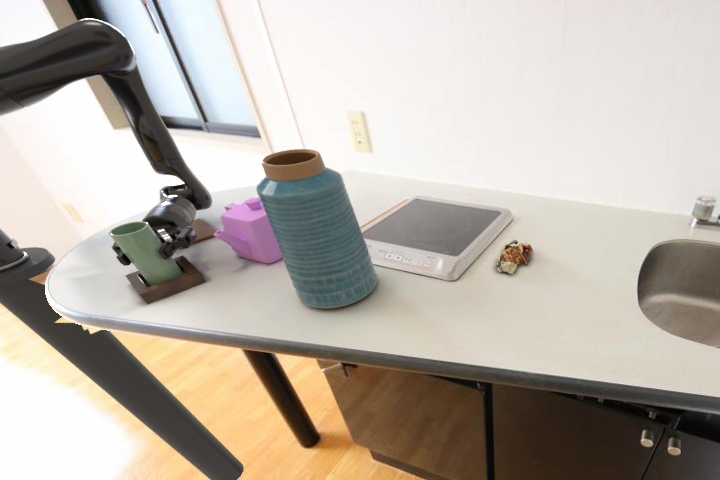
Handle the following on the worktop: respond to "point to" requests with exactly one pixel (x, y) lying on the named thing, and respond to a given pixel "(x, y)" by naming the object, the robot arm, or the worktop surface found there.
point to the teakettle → (249, 232)
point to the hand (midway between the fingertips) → (143, 258)
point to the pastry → (513, 256)
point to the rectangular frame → (167, 282)
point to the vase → (316, 229)
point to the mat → (202, 230)
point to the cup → (145, 251)
